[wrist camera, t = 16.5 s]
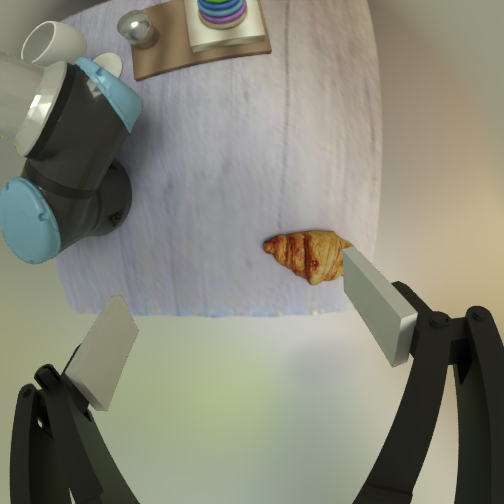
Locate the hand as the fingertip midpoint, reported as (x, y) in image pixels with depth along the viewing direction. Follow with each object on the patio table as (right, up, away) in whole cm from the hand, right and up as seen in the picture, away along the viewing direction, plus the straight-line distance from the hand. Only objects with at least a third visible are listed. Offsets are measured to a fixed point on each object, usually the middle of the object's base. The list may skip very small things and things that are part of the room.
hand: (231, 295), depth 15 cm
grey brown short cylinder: (-18, +40, +19) cm, 48 cm away
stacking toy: (-4, +41, +16) cm, 45 cm away
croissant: (+13, +2, +36) cm, 38 cm away
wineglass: (-27, +36, +22) cm, 50 cm away
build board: (-9, +42, +20) cm, 48 cm away
